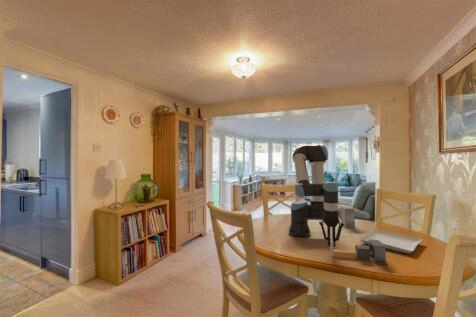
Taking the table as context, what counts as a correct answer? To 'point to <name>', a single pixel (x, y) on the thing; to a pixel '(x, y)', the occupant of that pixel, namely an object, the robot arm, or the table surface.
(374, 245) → the housing
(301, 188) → the robot arm
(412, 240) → the square plate
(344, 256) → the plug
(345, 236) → the table surface
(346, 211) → the circuit breaker
